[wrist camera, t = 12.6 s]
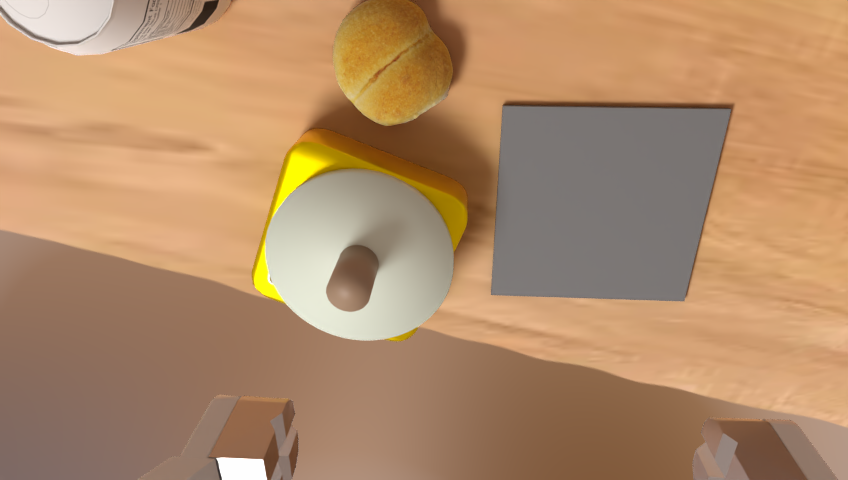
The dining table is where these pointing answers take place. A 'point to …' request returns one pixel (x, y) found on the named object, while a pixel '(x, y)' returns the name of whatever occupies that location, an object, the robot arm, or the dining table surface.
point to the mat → (603, 199)
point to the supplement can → (107, 21)
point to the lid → (360, 254)
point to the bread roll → (391, 61)
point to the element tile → (340, 152)
